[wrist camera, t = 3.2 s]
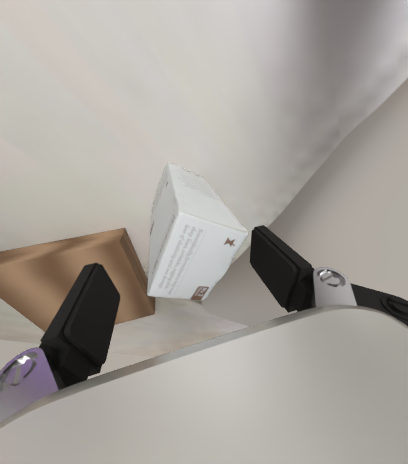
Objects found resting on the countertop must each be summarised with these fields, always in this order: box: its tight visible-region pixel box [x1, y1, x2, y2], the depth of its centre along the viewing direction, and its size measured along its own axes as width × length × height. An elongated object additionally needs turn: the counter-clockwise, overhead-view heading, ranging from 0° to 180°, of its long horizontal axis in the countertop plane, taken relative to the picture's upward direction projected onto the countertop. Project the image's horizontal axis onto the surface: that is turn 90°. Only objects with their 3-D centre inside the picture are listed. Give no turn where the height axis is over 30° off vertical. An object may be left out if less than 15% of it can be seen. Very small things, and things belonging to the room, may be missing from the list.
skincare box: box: [147, 163, 248, 300], centre depth 14 cm, size 6×4×12 cm
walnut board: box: [0, 228, 155, 332], centre depth 21 cm, size 14×14×3 cm
